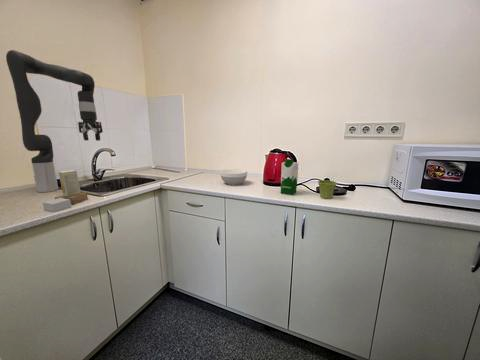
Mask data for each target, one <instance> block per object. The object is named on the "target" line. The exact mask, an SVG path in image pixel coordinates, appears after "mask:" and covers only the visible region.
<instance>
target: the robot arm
mask: <svg viewBox="0 0 480 360" xmlns="http://www.w3.org/2000/svg"><path fill="white" fill-rule="evenodd" d="M5 57H6V58H5V60H6V64H7V67H8V70H9V74H10V76H11V79H12V84H13V88H14V92H15V99H16V103H17V109H18V113H19V119H20V124H21V136H22V138H21V139H22V143H23V146H24V148H25V149H26V150H27V151H28V152H29V151H30V152H39V153H38V154H37V155H36V156H33V157H31V165H32V170H33V174H34V176H33V178H34V183H35V186H36V191H37V192H38V193H48V192H49V193H50V192H53V191H58V190H59V184H58V180H57V173H56V170H55V164H54V149H53V143H52V139H51V138H50V136H48V135H47V134H36V130H35V126H36V124H37V122H38V120H39V119H40V117H41V114H42V103H41V99H40V97H39V95H38V94H37V92H36V91H35V89H34V88H33V86H32V85H31V83H30V82H29V79H28V77H27V76H28V75H27V74H32V75H33V74H34V75H42V76H46V77H50V78H53V79H55V80H60V81H62V82H66V83H71V84H75V85H78V86H81V90H79V91H77V100H78V109H79V116H80V120H82V121H77V125H78V132H79V133H81V134H82V137H83V140H84V141H89V134H88V133H89V131H93V133H94V135H95V136H94V137H95V141H97V142H98V141H101V134H102V133H104V130H103V126H102V122H101V121H97V120H98V117H97V110H96V106H95V98H94V94H95V93H94V92H95V80H94V78H93V76H91V75H90V74H88V73H85V72H83V71H80V70H76V69H72V68H67V67H64V66H61V65H58V64H50V63H48V62H47V63H46V62H43V61H41V60H39V59H36V57H35V58H34V57H32V56H31V55H28V54H26V53H24V52H21V51H18V50H14V49H10V50H9V51H7V53H6V56H5Z"/></svg>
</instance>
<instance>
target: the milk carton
mask: <svg viewBox="0 0 480 360" xmlns="http://www.w3.org/2000/svg"><path fill="white" fill-rule="evenodd" d="M280 171H281V175H280V176H281V177H280V194H282V195H289V196H294V195H296V193H297V187H298V175H299V162H297V161H296V162H295V161H294V159H292V158H286V159H285V161H284V162H281V170H280Z"/></svg>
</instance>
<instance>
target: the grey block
mask: <svg viewBox="0 0 480 360" xmlns="http://www.w3.org/2000/svg"><path fill="white" fill-rule="evenodd" d="M42 205H43V206H42V207H43V210H44V211H46V212H50V211H51V212H50V213H56V212H60V211H64V210H67V209H71V208H72V205H71V201H70V199H64V198H58V199H55V198H54V199H51V200H47V201H43V202H42Z"/></svg>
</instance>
